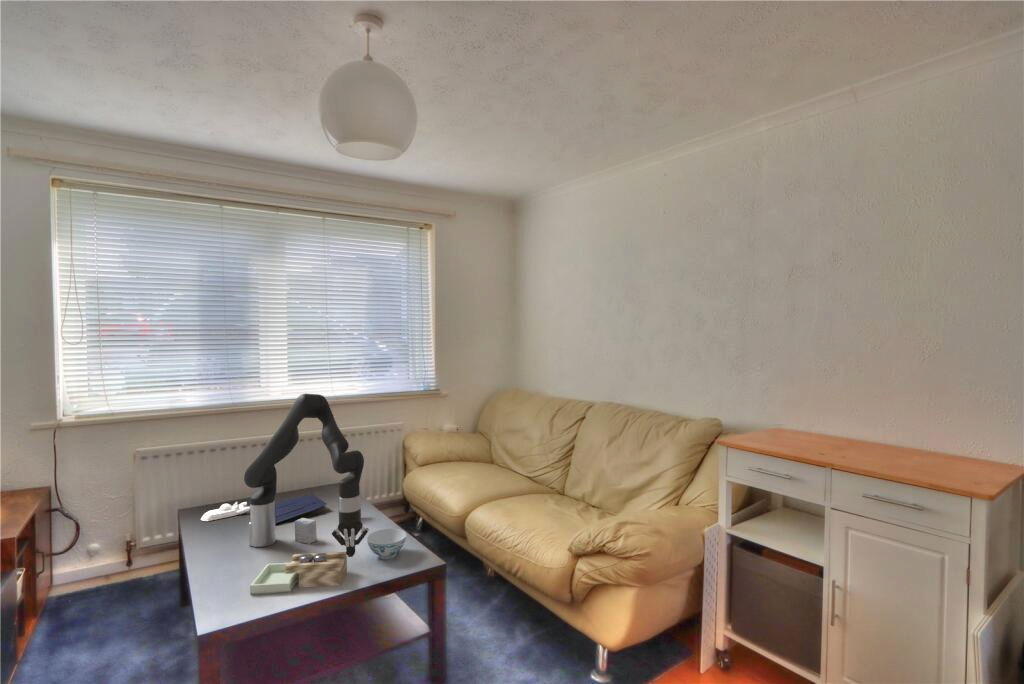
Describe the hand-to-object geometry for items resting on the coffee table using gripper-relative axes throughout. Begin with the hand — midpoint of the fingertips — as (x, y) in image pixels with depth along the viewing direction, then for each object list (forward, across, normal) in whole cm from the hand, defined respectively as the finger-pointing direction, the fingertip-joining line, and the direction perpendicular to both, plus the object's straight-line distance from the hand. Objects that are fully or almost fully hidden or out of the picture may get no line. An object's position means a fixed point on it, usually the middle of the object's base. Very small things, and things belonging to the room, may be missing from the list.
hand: (351, 555), depth 188 cm
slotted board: (+8, -12, 0) cm, 14 cm away
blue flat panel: (+8, -43, +69) cm, 82 cm away
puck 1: (+2, -16, 0) cm, 16 cm away
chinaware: (+8, +10, +17) cm, 21 cm away
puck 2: (+2, -11, 0) cm, 11 cm away
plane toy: (+8, -73, +70) cm, 101 cm away
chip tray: (+8, -25, 0) cm, 26 cm away
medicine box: (+8, -26, +35) cm, 44 cm away
